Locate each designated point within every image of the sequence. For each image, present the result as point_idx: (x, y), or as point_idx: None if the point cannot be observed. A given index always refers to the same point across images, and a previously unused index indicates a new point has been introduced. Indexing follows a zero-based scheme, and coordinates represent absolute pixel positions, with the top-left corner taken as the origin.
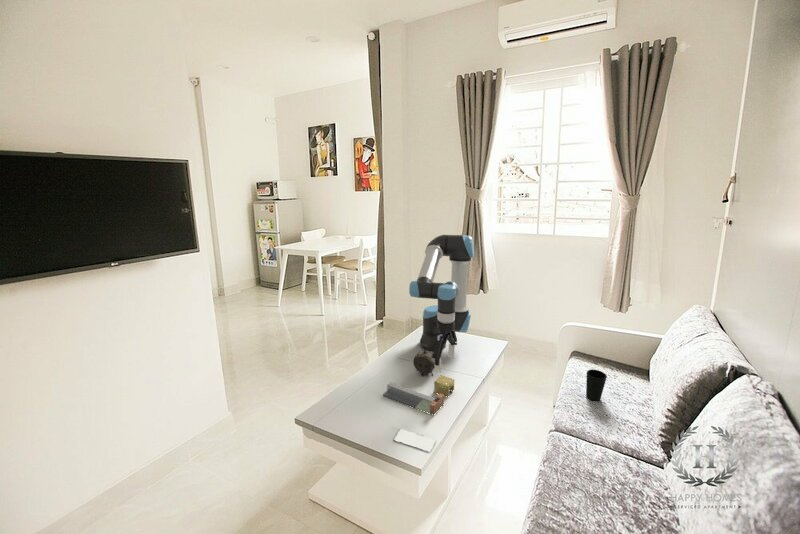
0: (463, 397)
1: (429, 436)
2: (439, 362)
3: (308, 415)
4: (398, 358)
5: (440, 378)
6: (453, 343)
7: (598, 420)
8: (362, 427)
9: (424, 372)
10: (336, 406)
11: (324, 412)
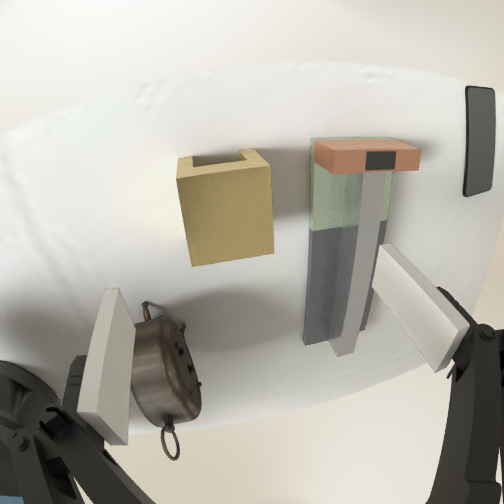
0: (198, 89)
1: (461, 110)
2: (439, 303)
3: None
4: None
5: (225, 247)
6: (96, 449)
7: None
8: (468, 268)
9: (180, 332)
10: None
11: None
